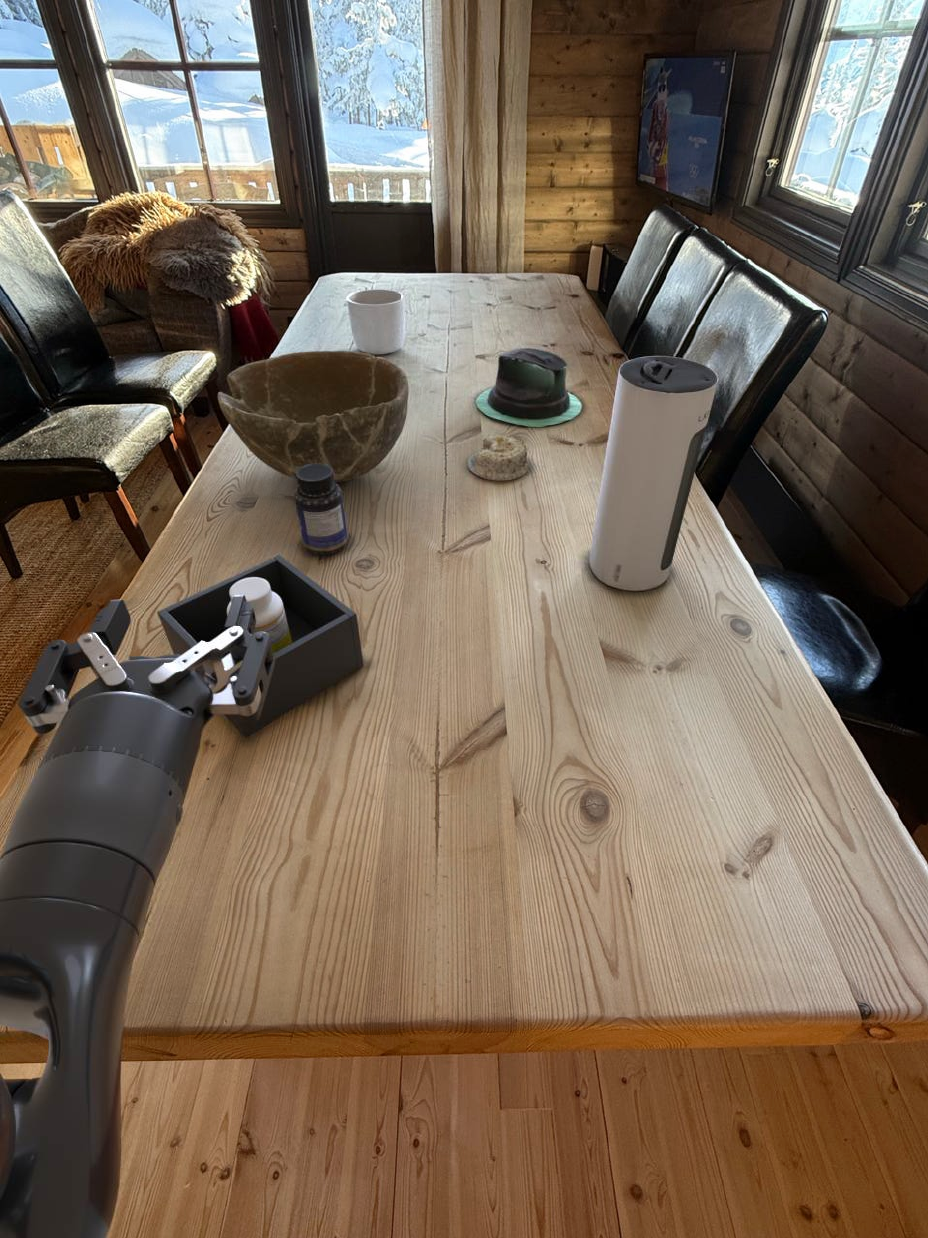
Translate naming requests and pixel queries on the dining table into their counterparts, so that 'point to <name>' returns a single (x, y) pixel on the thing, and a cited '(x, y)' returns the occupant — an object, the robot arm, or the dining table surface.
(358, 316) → the planter
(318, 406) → the bowl
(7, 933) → the robot arm
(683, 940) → the dining table surface
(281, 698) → the open storage box
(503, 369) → the fedora hat
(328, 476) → the pill bottle
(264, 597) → the supplement bottle
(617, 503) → the speaker
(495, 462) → the cake
